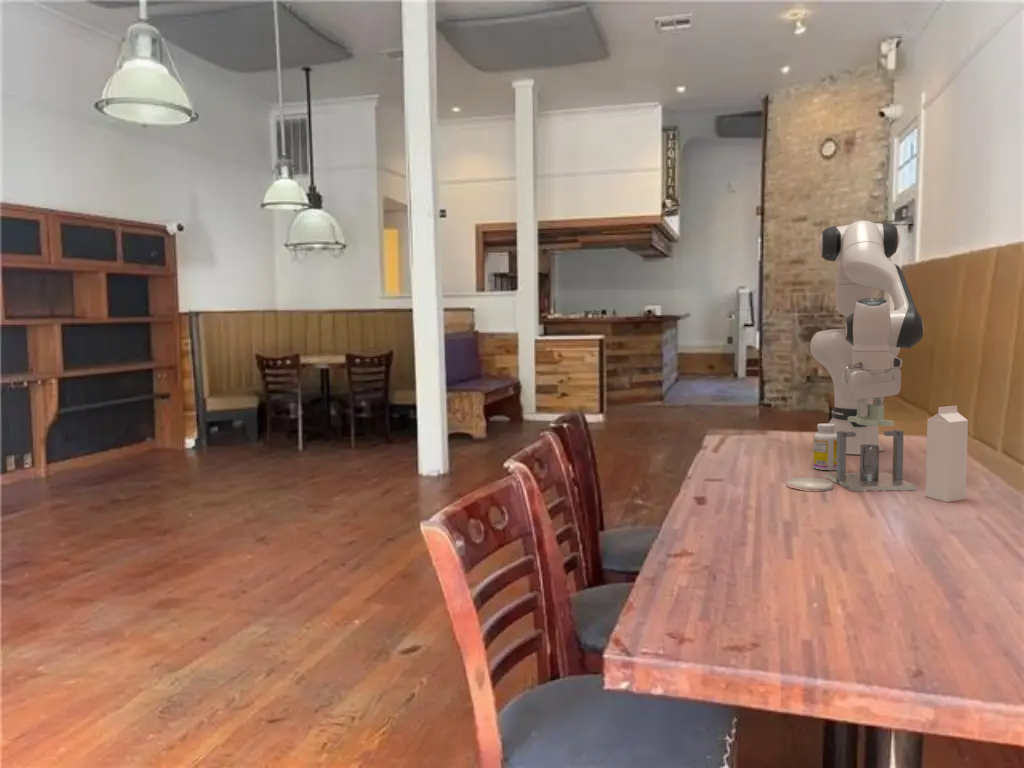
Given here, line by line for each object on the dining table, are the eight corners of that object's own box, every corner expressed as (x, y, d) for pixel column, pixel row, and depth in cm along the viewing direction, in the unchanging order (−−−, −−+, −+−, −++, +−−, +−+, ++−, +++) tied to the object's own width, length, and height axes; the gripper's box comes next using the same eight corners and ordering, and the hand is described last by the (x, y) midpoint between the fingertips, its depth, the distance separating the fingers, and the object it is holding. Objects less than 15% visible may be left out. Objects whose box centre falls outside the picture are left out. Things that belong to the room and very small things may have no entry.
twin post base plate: (826, 477, 202) (826, 427, 201) (886, 476, 202) (887, 425, 200) (850, 491, 186) (851, 436, 185) (915, 490, 186) (917, 435, 184)
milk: (925, 497, 179) (926, 405, 177) (943, 494, 181) (945, 404, 180) (948, 502, 174) (949, 408, 172) (966, 499, 176) (968, 406, 174)
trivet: (780, 482, 198) (780, 477, 198) (823, 481, 198) (823, 477, 198) (794, 491, 187) (794, 487, 187) (839, 491, 187) (839, 486, 187)
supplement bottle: (834, 466, 216) (834, 422, 215) (842, 471, 209) (842, 426, 208) (810, 466, 217) (810, 422, 215) (817, 471, 210) (817, 426, 209)
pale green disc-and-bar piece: (855, 420, 199) (855, 401, 199) (898, 425, 190) (898, 405, 189) (842, 422, 196) (843, 404, 195) (885, 427, 186) (886, 408, 186)
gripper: (856, 365, 183) (855, 421, 185) (906, 359, 193) (905, 412, 195) (834, 364, 189) (833, 418, 190) (883, 358, 199) (882, 410, 200)
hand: (870, 415), depth 193 cm, fingers closed on pale green disc-and-bar piece, 3 cm apart
